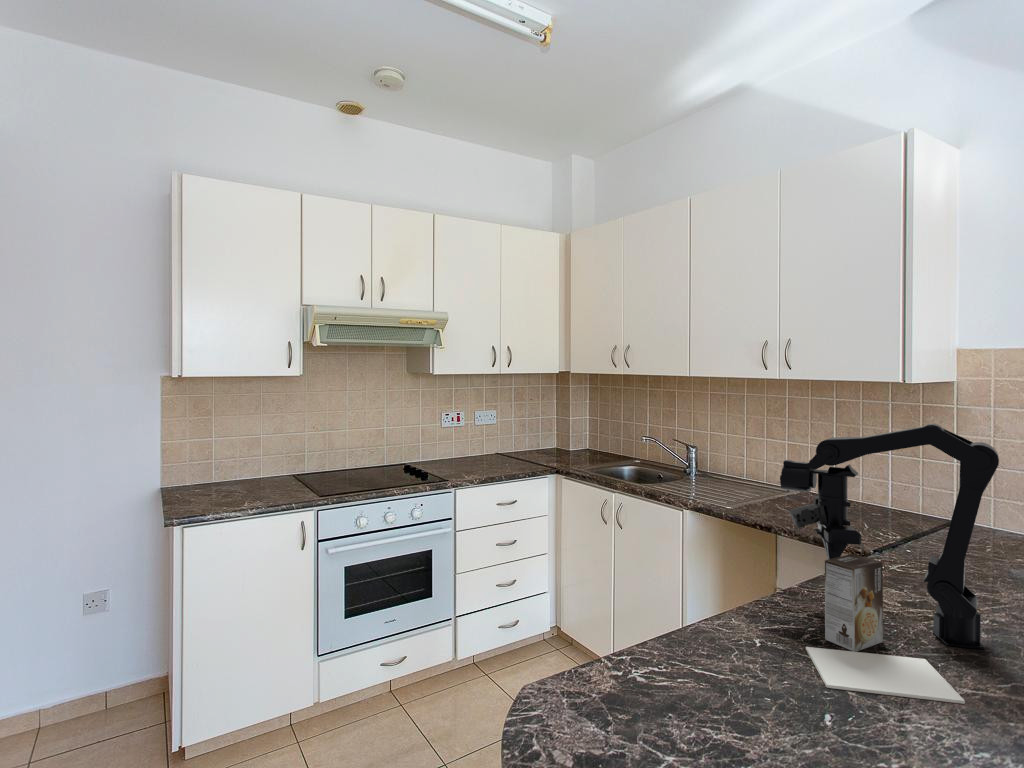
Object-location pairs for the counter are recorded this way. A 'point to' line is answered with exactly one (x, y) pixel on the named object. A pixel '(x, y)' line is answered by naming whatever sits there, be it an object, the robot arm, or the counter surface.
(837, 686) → the mat
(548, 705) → the counter surface
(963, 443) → the robot arm
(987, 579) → the counter surface
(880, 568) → the coffee box
